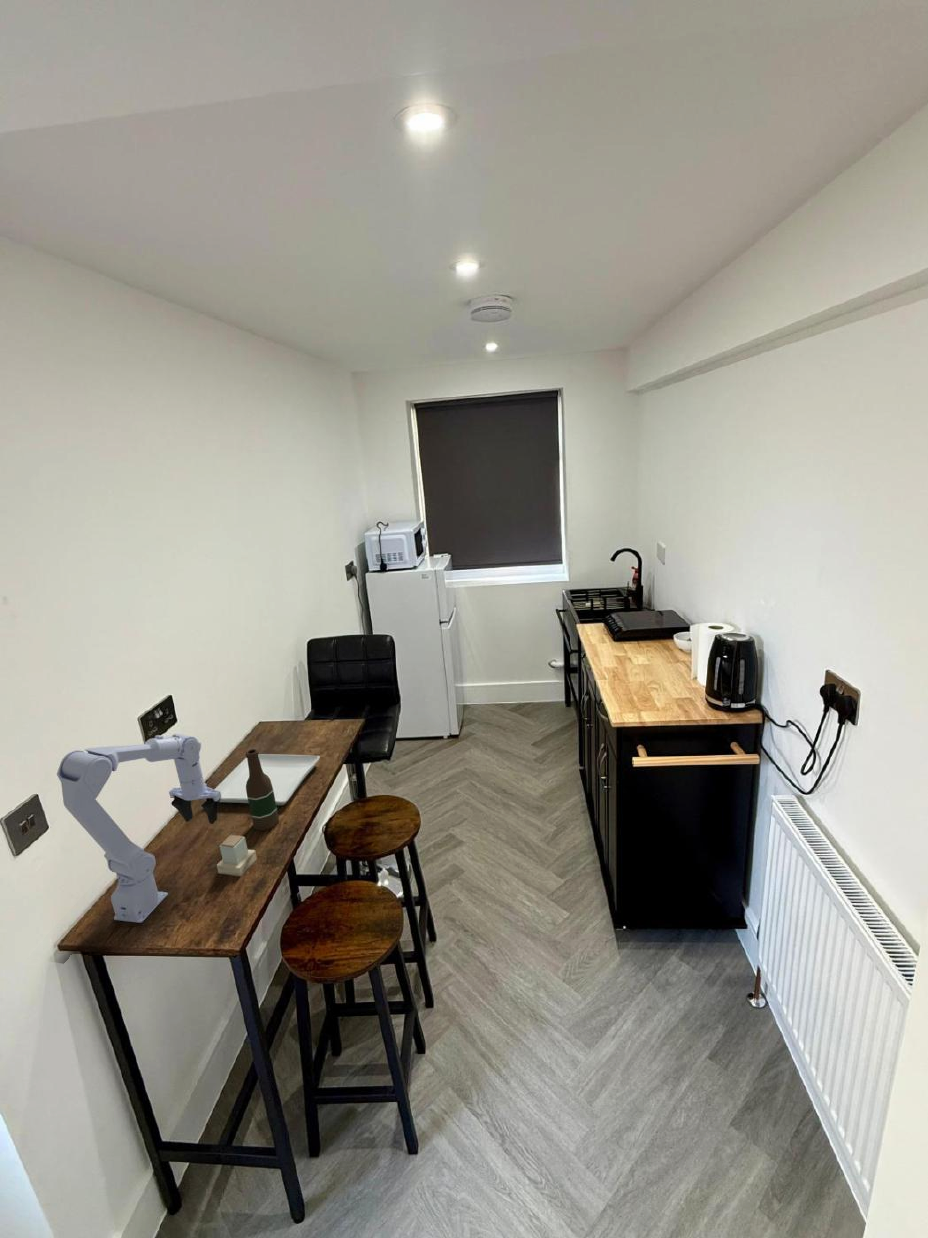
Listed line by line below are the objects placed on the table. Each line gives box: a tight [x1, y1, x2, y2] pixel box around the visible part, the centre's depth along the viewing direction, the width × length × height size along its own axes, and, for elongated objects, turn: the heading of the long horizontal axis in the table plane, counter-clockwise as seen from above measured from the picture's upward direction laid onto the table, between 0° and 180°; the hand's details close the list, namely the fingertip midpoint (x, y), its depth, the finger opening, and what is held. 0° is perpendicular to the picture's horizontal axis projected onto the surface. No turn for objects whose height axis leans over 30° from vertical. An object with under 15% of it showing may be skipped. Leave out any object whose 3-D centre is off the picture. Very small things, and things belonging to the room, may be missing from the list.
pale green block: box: [219, 834, 249, 864], centre depth 155 cm, size 4×4×6 cm
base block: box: [216, 849, 258, 877], centre depth 157 cm, size 7×7×3 cm
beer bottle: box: [245, 748, 280, 832], centre depth 171 cm, size 8×8×24 cm
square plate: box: [213, 753, 321, 806], centre depth 195 cm, size 27×27×4 cm
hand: (201, 820), depth 160 cm, fingers open, 7 cm apart
